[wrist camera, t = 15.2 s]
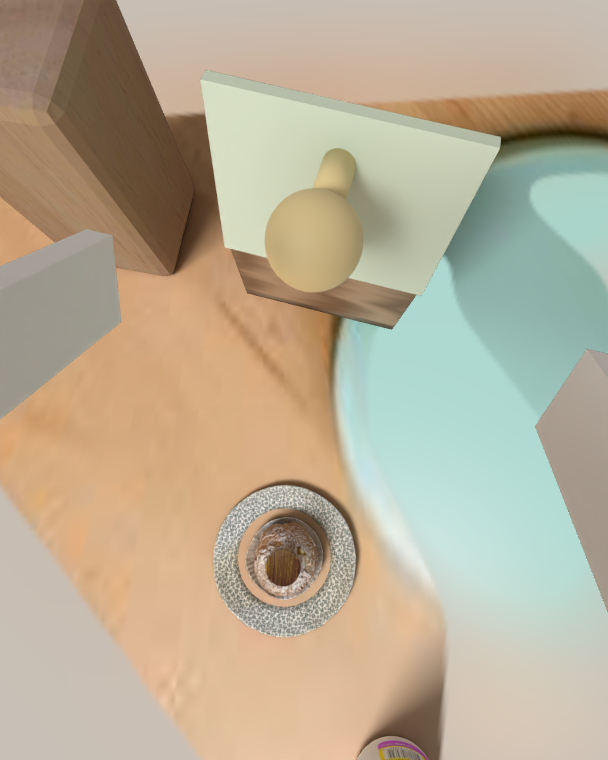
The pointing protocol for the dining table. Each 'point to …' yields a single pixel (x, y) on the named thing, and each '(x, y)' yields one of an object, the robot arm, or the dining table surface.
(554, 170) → the dining table surface
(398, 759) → the supplement bottle
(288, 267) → the lid
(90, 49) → the block
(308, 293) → the box
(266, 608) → the speckled grey ring
